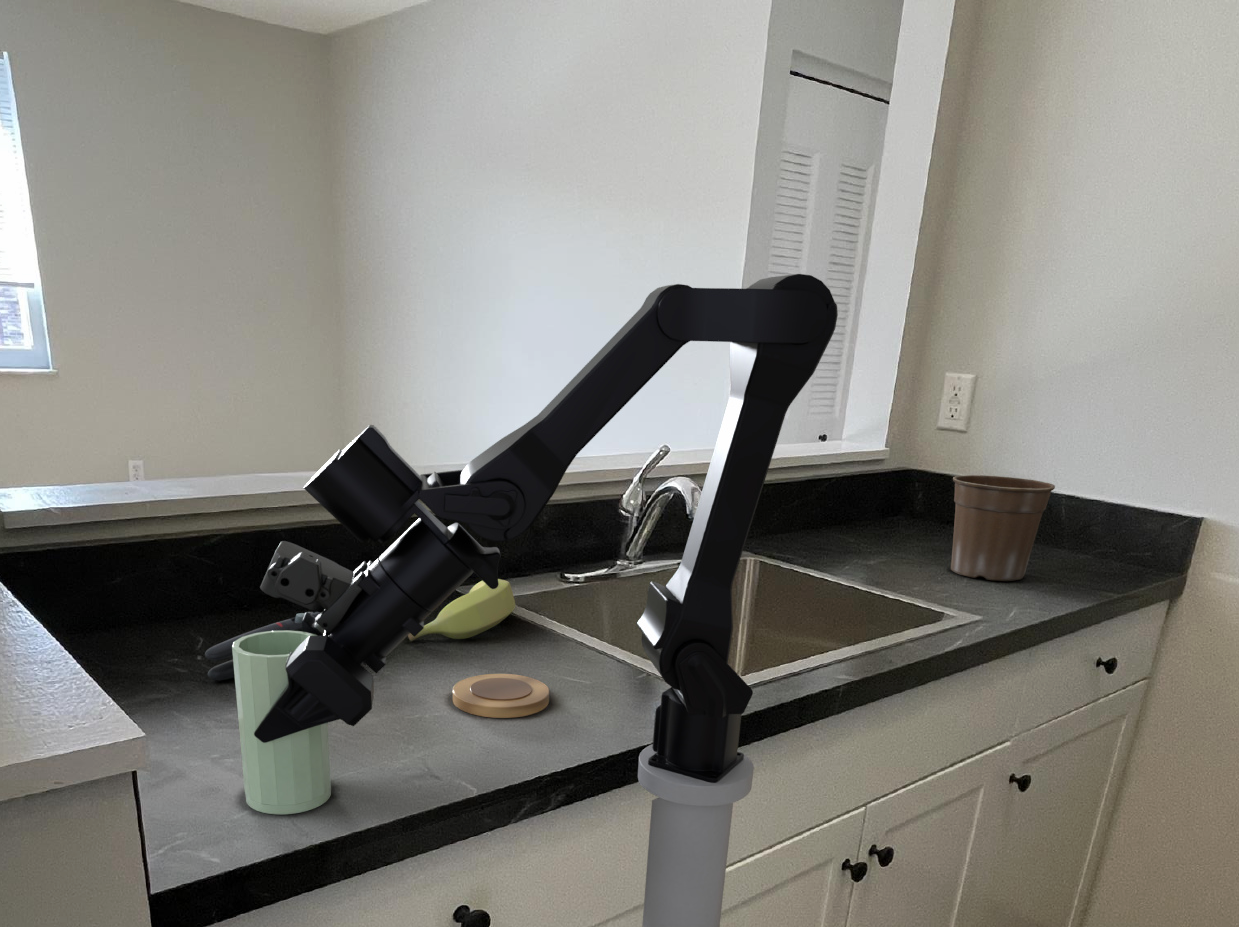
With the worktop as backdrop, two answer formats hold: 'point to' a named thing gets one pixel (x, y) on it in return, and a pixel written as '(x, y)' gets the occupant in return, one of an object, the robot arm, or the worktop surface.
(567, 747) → the worktop surface
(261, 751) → the tumbler
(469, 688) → the coaster
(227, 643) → the can opener
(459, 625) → the banana
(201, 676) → the worktop surface
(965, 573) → the plant pot
